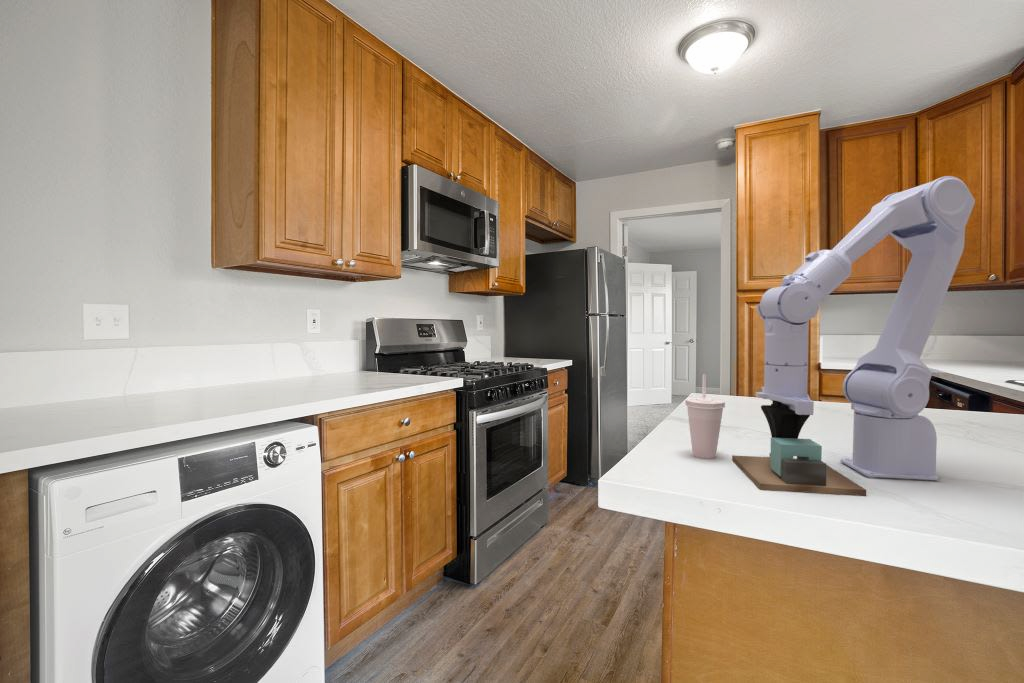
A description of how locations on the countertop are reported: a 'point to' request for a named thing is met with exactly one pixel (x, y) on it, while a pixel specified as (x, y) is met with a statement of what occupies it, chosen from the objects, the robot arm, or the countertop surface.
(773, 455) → the block
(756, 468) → the rail board
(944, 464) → the countertop surface
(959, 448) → the countertop surface
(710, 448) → the smoothie
